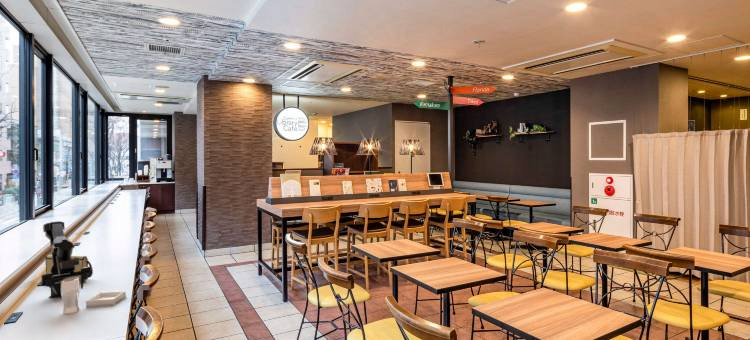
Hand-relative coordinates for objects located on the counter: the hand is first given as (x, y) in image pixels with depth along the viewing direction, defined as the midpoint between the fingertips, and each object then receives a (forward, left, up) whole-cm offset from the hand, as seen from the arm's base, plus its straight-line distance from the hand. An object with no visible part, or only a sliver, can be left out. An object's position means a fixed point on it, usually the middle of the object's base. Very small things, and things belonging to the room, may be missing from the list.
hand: (69, 291), depth 186 cm
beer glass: (+1, -1, -9) cm, 10 cm away
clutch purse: (-32, +55, -10) cm, 64 cm away
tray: (+10, +10, -9) cm, 17 cm away
